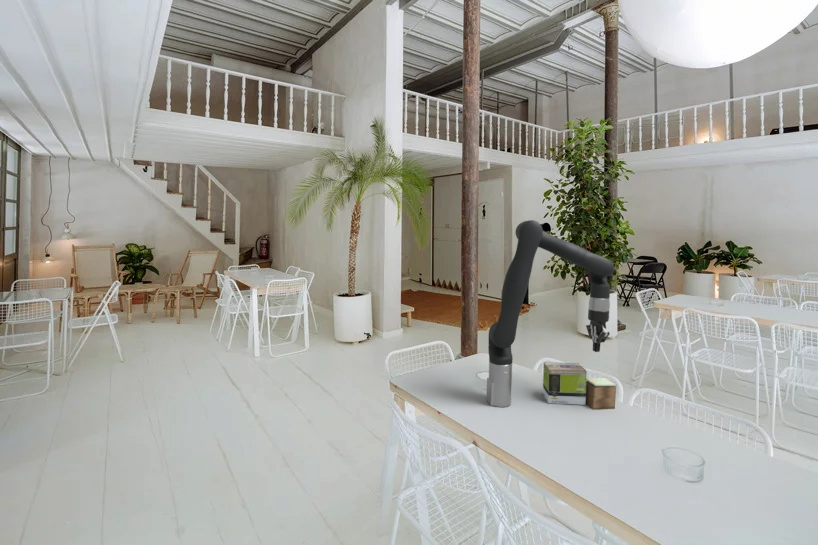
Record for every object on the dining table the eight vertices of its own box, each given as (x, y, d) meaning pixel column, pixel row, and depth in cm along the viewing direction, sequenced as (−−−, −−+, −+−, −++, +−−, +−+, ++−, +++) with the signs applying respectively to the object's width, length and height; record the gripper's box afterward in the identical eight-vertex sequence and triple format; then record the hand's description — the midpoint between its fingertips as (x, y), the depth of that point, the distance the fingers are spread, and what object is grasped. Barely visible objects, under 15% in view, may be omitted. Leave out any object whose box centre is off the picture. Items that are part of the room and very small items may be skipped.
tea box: (578, 395, 175) (579, 362, 173) (585, 405, 165) (587, 370, 163) (542, 394, 176) (543, 361, 175) (547, 404, 166) (549, 369, 165)
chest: (593, 409, 161) (594, 387, 160) (584, 402, 168) (585, 381, 167) (614, 408, 162) (616, 386, 161) (604, 401, 169) (605, 380, 168)
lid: (595, 386, 160) (595, 384, 160) (585, 379, 167) (585, 378, 167) (616, 386, 161) (617, 384, 161) (606, 379, 168) (606, 378, 168)
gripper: (580, 305, 167) (578, 346, 169) (599, 312, 154) (596, 356, 156) (598, 305, 168) (595, 346, 169) (618, 312, 155) (615, 356, 156)
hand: (596, 351), depth 162 cm, fingers closed
